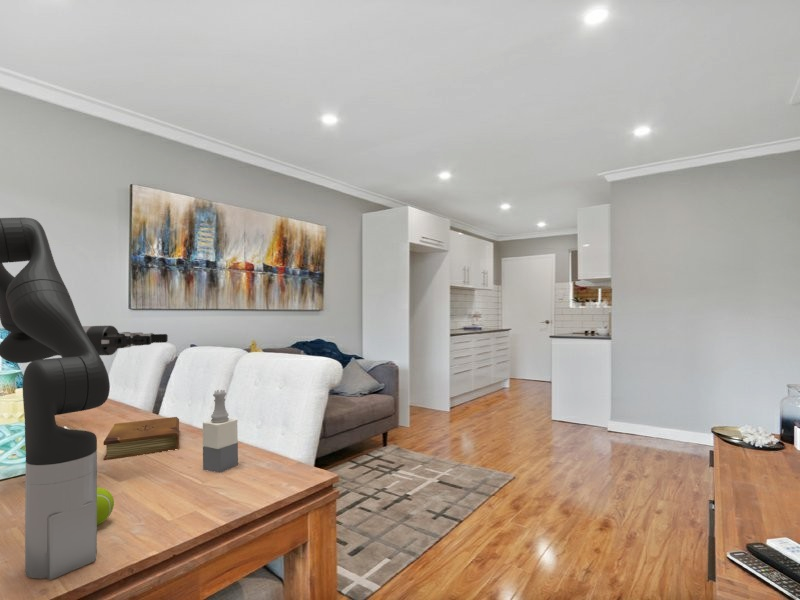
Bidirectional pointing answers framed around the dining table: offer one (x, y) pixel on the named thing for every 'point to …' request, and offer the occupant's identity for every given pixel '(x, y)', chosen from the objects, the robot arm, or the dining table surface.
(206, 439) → the tower top
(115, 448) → the diary
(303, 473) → the dining table surface
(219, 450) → the tower base
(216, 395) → the rook chess piece
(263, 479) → the dining table surface
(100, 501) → the tennis ball
